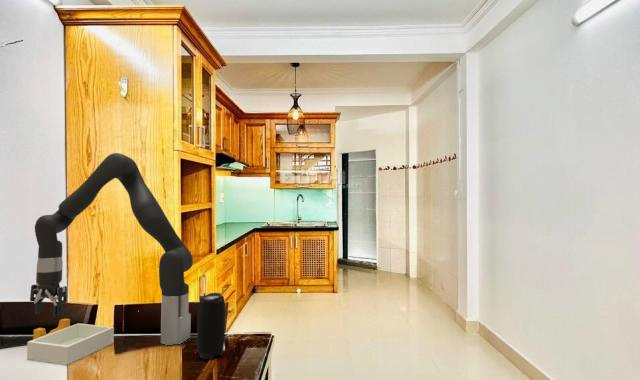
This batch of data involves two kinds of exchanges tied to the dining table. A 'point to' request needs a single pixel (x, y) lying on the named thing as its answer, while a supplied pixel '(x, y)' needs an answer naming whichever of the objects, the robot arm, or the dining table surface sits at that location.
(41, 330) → the pipe clamp
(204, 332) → the portable speaker
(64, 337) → the walled box
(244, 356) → the dining table surface
